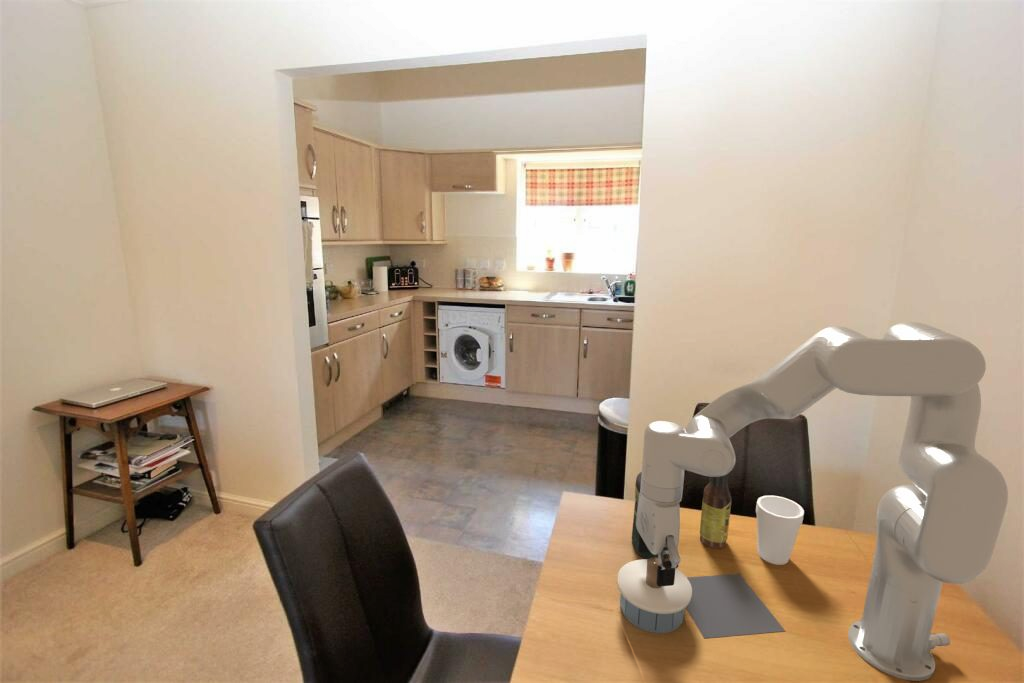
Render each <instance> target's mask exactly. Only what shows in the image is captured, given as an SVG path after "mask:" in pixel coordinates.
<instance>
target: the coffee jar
mask: <svg viewBox="0 0 1024 683" xmlns="http://www.w3.org/2000/svg"><path fill="white" fill-rule="evenodd" d="M641 476H642V471H640V472H639V473H638V474H637V476H636V480H635V488H634V489H635V491H634V492H635V493H634V494H635V495H634V496H635V497H634V498H635V499H634V510H633V511H634V512H633V521H632V531H631V542H632V545H633V548H634V550H635V551H636V553H637V554H638V556H640V557H641V558H642V559H643V558H644V559H649V558H651V557H656V558H659V557H658V554H656V555H654V554H652V553H651V552H646V553H639V551H638V542H639V532H638V530H637V528H636V516H637V508H638V501H639V495H640V489H641ZM663 550H668V548H667V546H665V547H664V548H663ZM669 556H670V554H663V557H664V559H666V558H668V557H669Z"/></svg>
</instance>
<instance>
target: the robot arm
mask: <svg viewBox="0 0 1024 683" xmlns="http://www.w3.org/2000/svg"><path fill="white" fill-rule="evenodd" d="M986 366H987V365H986V360H985V356H984V355H983V353H982V351H981V350H980V349H979V348H978V347H977V346H976V345H974V344H973V343H972V342H970V341H968V340H966V339H964V338H963V337H959V336H957V335H954V334H951V333H949V332H946V331H944V330H941V329H939V328H937V327H935V326H932V325H929V324H925V323H922V322H915V321H905V322H900V323H897V324H895V325H892V326H891V327H890V328H889V329H888V330H887V331H886V332H885V333H884V335H883V337H882V338H873V337H872V338H871V337H868V336H865V335H864V334H862V333H860V332H857V331H855V330H854V329H851V328H848V327H845V326H838V325H836V326H829V327H825V328H823V329H821V330H820V331H818V332H816V333H814V335H812V336H810V337H809V338H808V339H807V340H806V341H804V342H803V343H802V344H800V345H799V346H798V347H797V348H796V349H795V348H794V350H793V351H792V352H790V353H789V354H787V355H786V356H785V357H784V358H783V359H781V360H780V361H778V362H777V363H776V364H774V366H772V367H771V368H770V369H768V370H767V371H765V372H764V373H763V374H762V375H760V376H759V377H757V378H755V379H754V380H751V381H749V382H746V383H744V384H742V385H740V386H737V387H736V388H734V389H730V390H728V391H726V392H725V393H723V394H721V395H720V396H718V397H717V398H715V399H714V400H712V401H711V402H710V403H708V405H706V406H705V407H704V408H703V409H701V410H700V411H698V412H697V413H696V414H695V415H694V416H693V417H692V418H691V419H690V420H689V422H688V423H687V425H686V427H685V428H684V426H682V425H680V424H679V423H676V422H673V421H667V420H666V421H665V420H655V421H652V422H650V423H649V424H648V425H646V427H645V429H644V436H643V448H642V449H643V450H642V464H641V472H642V476H641V489H640V495H639V501H638V508H637V516H636V528H637V530H638V532H639V542H638V551H639V553H646V552H651V553H652V554H654V555H656V554H658V557H659V563H660V566H658V570H657V582H656V584H657V585H658V586H659V587H660V586H672V585H674V580H675V569H678V568H679V564H680V563H681V556H680V553H679V550H678V548H679V545H680V544H679V542H680V531H681V530H680V529H681V526H680V525H681V524H680V523H681V513H680V512H681V509H680V502H682V499H683V491H684V480H685V471H687V472H691V473H694V474H697V475H701V476H705V477H709V478H711V477H720V476H724V475H726V474H728V475H729V473H730V472H731V471H732V470H733V469H734V467H735V465H736V458H737V457H736V453H735V452H736V451H735V450H734V447H733V444H732V442H731V439H730V438H731V437H732V436H734V435H735V434H737V432H740V431H741V430H742V429H743V428H745V427H747V426H748V425H750V424H752V423H755V422H757V421H760V420H765V419H777V420H790V419H795V418H797V417H799V416H800V415H802V414H803V413H804V412H805V411H807V410H808V409H809V408H810V407H812V406H814V405H815V404H816V403H817V402H819V401H820V400H821V399H823V398H824V397H826V396H827V395H829V394H830V393H831V392H833V391H835V389H838V390H839V391H843V392H844V393H847V394H853V395H859V396H874V397H910V403H909V404H910V406H909V411H908V417H907V421H906V425H905V429H904V434H903V438H902V442H901V447H900V451H899V456H898V464H899V467H900V470H901V472H902V473H903V474H904V476H905V477H907V479H908V480H910V481H911V483H912V484H902V485H897V486H894V487H892V488H890V489H889V490H887V491H886V492H885V493H884V494H883V495H882V496H881V498H880V501H879V503H878V504H877V506H878V507H877V511H876V541H875V542H876V543H875V550H874V556H873V560H872V561H873V562H872V566H871V571H870V576H869V581H868V582H869V583H868V587H867V591H866V597H865V601H864V606H863V613H862V617H861V619H860V620H857V621H854V622H853V623H851V625H850V626H849V628H848V633H847V638H848V640H849V644H851V647H852V648H853V650H855V652H856V653H857V654H858V655H859V656H860V657H861V658H862V659H863V660H864V661H865V662H867V663H868V664H870V665H871V666H873V667H874V668H876V669H878V670H879V671H881V672H882V673H885V674H887V675H889V676H892V677H895V678H898V679H902V680H905V681H912V682H915V681H916V682H921V681H927V680H929V679H930V678H931V677H932V676H933V675H934V673H935V669H936V661H935V658H934V656H933V654H932V653H931V650H934V649H935V648H936V647H946V646H950V645H951V639H950V638H949V636H948V635H947V633H944V632H943V633H941V632H940V633H932V629H933V624H934V620H935V617H936V613H937V608H938V603H939V599H940V595H941V592H942V587H943V583H945V584H951V585H961V584H965V583H968V582H971V581H973V580H975V579H977V578H978V577H979V576H981V575H982V573H984V571H985V570H986V568H987V567H988V565H989V563H990V562H991V560H992V556H993V554H994V550H995V547H996V543H997V540H998V538H999V534H1000V532H1001V527H1002V524H1003V521H1004V517H1005V513H1006V511H1007V506H1008V502H1009V491H1008V486H1007V485H1008V484H1007V481H1006V480H1005V477H1004V475H1003V474H1002V473H1001V471H1000V470H999V469H998V467H996V465H995V464H994V463H992V462H991V461H990V460H988V459H987V458H985V457H984V456H983V455H982V454H980V453H978V451H977V450H976V447H975V446H976V444H975V443H976V438H977V432H978V427H979V421H980V415H981V409H982V399H981V398H982V395H981V390H980V385H979V382H981V380H982V379H983V377H984V375H985V374H986V373H985V372H986ZM665 546H667V548H668V550H663V548H664V547H665ZM663 554H669V559H668V560H666V561H665V558H664V557H663ZM931 633H932V634H931Z"/></svg>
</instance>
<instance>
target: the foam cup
mask: <svg viewBox="0 0 1024 683" xmlns="http://www.w3.org/2000/svg"><path fill="white" fill-rule="evenodd" d="M755 514H756V541H757V543H756V544H757V546H756V547H757V548H756V550H757V554H758V555H759V557H760V558H761V559H762V560H763V561H765V562H767V563H769V564H772V565H776V566H779V565H781V566H783V565H785V564H788V562H789V561H790V557H791V555H792V552H793V548H794V546H795V544H796V543H795V542H796V541H797V540H796V539H797V536H798V533H799V530H800V528H801V526H802V525H803V520H804V515H805V510H804V508H803V507H802V506H801V505H800V504H798V503H797V502H796V501H794V500H791V499H789V498H786V497H784V496H778V495H763V496H760V497H758V498H757V501H756V506H755Z"/></svg>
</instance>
